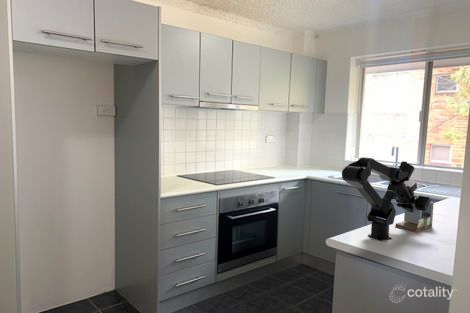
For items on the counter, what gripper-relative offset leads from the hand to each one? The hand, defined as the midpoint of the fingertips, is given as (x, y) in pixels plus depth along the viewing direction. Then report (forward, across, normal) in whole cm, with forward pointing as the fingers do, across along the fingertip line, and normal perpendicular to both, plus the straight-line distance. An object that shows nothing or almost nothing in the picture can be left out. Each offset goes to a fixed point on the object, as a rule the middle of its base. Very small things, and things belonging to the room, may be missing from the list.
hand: (412, 211), depth 157 cm
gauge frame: (+7, 0, +4) cm, 8 cm away
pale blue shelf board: (+5, -1, +2) cm, 6 cm away
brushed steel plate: (+10, 0, -2) cm, 10 cm away
